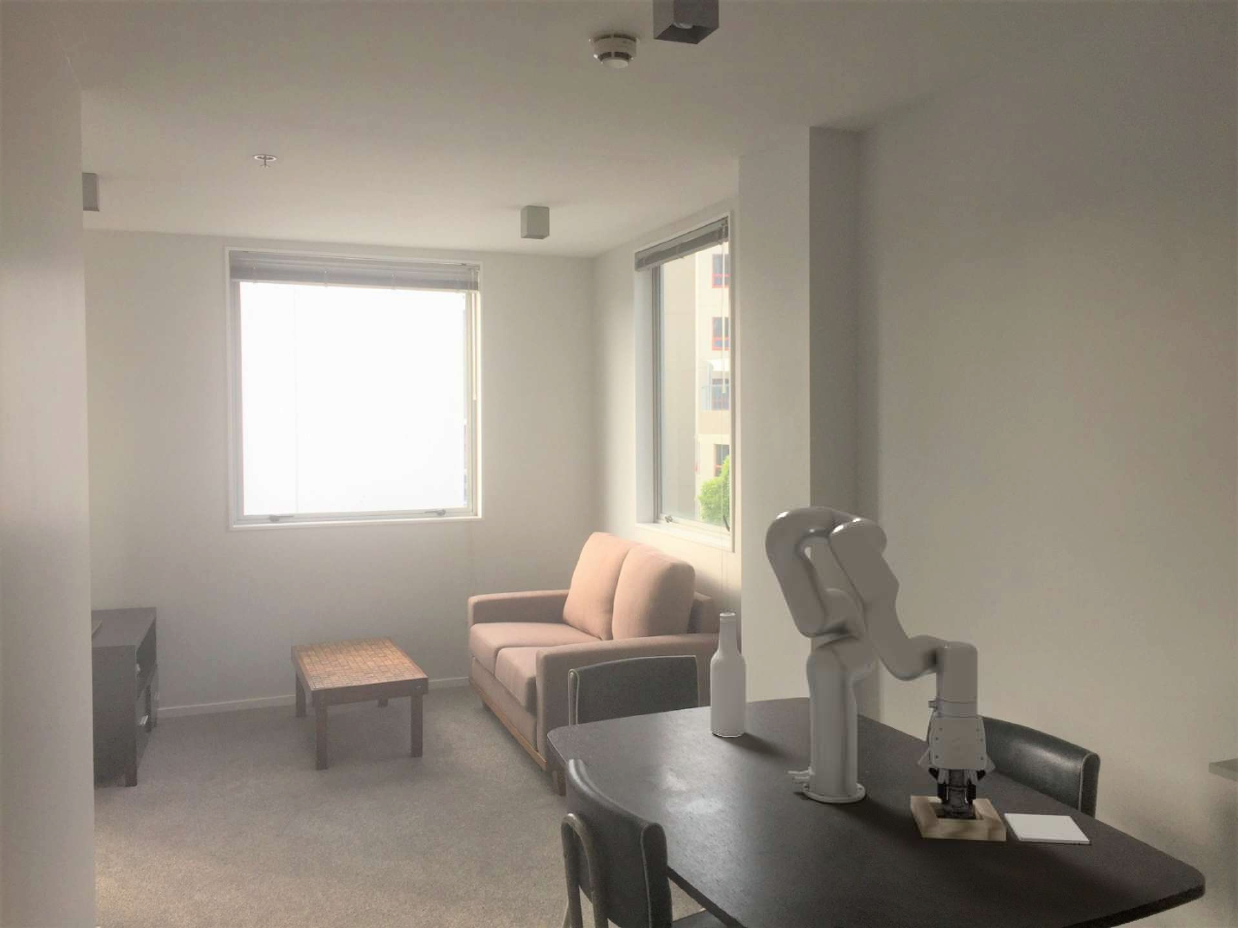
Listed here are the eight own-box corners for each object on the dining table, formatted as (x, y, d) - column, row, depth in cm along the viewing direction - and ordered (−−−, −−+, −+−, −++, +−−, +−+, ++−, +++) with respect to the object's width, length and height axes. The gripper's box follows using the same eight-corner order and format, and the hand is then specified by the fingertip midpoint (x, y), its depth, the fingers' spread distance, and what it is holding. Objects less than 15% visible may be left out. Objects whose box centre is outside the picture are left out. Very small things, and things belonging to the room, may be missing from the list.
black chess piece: (974, 830, 190) (974, 767, 190) (942, 828, 192) (942, 765, 191) (970, 819, 196) (970, 757, 196) (938, 817, 197) (938, 756, 197)
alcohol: (751, 731, 255) (751, 612, 254) (737, 740, 247) (736, 618, 247) (719, 726, 260) (719, 609, 259) (704, 734, 252) (704, 615, 251)
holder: (922, 837, 188) (922, 823, 188) (910, 807, 202) (910, 795, 202) (1005, 841, 186) (1006, 827, 186) (987, 811, 200) (987, 798, 200)
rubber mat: (1020, 840, 186) (1020, 837, 186) (1004, 816, 198) (1004, 813, 197) (1089, 843, 184) (1089, 840, 184) (1069, 818, 196) (1069, 815, 196)
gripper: (914, 711, 191) (914, 807, 191) (1007, 714, 188) (1006, 811, 189) (908, 701, 198) (908, 793, 199) (997, 703, 196) (997, 797, 196)
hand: (956, 801), depth 194 cm, fingers closed on black chess piece, 4 cm apart
